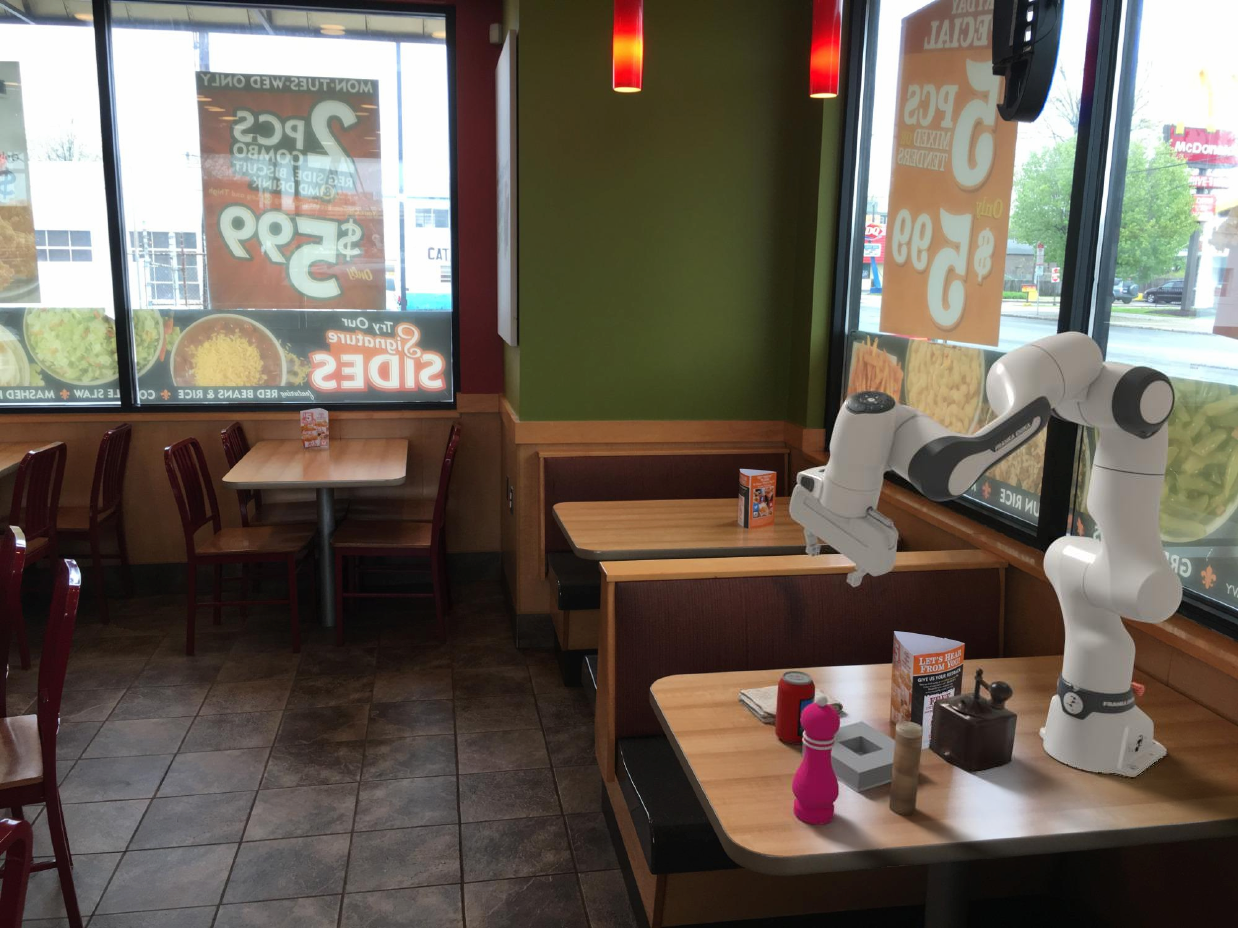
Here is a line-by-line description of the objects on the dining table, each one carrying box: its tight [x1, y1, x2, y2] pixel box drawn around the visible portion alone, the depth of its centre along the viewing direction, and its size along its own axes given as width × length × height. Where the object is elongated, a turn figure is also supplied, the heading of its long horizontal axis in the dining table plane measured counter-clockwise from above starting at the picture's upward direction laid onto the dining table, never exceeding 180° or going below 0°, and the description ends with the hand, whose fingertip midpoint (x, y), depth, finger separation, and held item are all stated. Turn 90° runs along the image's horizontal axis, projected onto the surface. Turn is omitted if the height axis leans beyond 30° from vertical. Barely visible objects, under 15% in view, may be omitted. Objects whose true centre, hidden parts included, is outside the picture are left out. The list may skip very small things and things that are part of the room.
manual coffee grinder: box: [928, 667, 1018, 773], centre depth 168 cm, size 16×11×18 cm
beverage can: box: [774, 670, 816, 745], centre depth 175 cm, size 7×7×12 cm
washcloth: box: [737, 685, 844, 724], centre depth 189 cm, size 12×18×3 cm, turn 112°
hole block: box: [801, 721, 895, 793], centre depth 167 cm, size 14×14×4 cm
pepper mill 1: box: [791, 695, 841, 825], centre depth 149 cm, size 7×7×20 cm
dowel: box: [888, 721, 924, 816], centre depth 152 cm, size 4×4×14 cm
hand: (832, 568), depth 153 cm, fingers open, 8 cm apart
